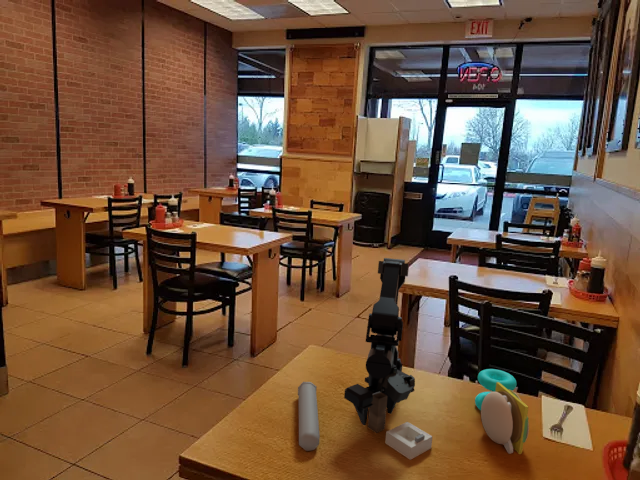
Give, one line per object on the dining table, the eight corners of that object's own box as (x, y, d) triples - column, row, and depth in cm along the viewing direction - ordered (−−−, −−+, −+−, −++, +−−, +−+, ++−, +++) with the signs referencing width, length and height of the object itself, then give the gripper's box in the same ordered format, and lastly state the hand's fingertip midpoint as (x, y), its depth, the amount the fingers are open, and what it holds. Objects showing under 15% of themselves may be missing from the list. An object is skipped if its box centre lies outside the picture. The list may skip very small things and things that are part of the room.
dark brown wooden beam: (376, 423, 121) (378, 390, 120) (384, 429, 119) (387, 395, 117) (367, 427, 119) (370, 394, 118) (376, 433, 117) (379, 399, 116)
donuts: (517, 371, 133) (517, 387, 124) (512, 405, 134) (512, 422, 125) (479, 364, 136) (477, 378, 127) (475, 396, 138) (473, 413, 129)
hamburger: (472, 426, 122) (477, 383, 120) (501, 424, 124) (507, 381, 122) (498, 455, 111) (504, 408, 109) (530, 453, 112) (537, 406, 110)
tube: (324, 439, 107) (319, 384, 132) (302, 431, 107) (301, 378, 131) (316, 459, 108) (312, 401, 133) (294, 451, 108) (294, 395, 132)
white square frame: (406, 432, 118) (407, 417, 117) (431, 447, 112) (432, 432, 112) (385, 443, 113) (386, 427, 112) (410, 459, 107) (411, 443, 107)
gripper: (379, 383, 104) (373, 448, 107) (432, 363, 116) (426, 422, 119) (344, 364, 113) (340, 425, 115) (397, 347, 124) (392, 402, 127)
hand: (376, 419), depth 119 cm, fingers open, 9 cm apart
